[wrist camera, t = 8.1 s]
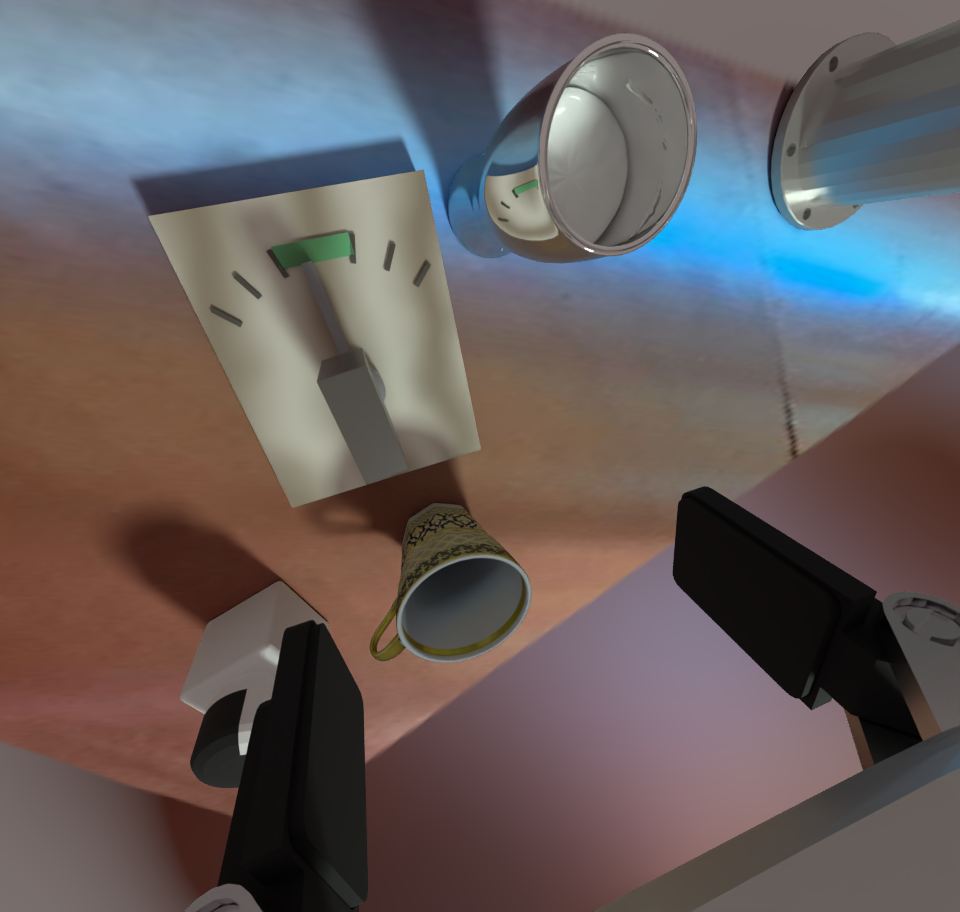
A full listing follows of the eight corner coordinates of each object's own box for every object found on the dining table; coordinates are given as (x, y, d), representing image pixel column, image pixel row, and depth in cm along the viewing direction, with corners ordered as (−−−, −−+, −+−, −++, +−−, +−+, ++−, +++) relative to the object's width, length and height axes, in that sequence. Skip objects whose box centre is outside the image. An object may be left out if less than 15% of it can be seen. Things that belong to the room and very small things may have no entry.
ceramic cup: (457, 464, 35) (495, 528, 26) (506, 536, 40) (551, 611, 31) (331, 546, 34) (326, 639, 26) (396, 609, 39) (411, 705, 31)
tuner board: (418, 176, 25) (424, 168, 24) (473, 440, 34) (481, 450, 32) (162, 220, 23) (146, 215, 21) (295, 494, 32) (292, 509, 30)
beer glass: (418, 197, 26) (494, 125, 13) (498, 119, 25) (659, -36, 12) (483, 286, 29) (594, 300, 16) (554, 219, 29) (725, 179, 16)
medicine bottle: (263, 664, 37) (233, 816, 27) (205, 621, 34) (144, 778, 23) (331, 623, 38) (326, 757, 27) (280, 577, 34) (253, 712, 24)
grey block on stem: (333, 254, 24) (328, 248, 17) (397, 418, 29) (415, 466, 22) (279, 270, 23) (251, 270, 16) (355, 433, 29) (359, 487, 22)
